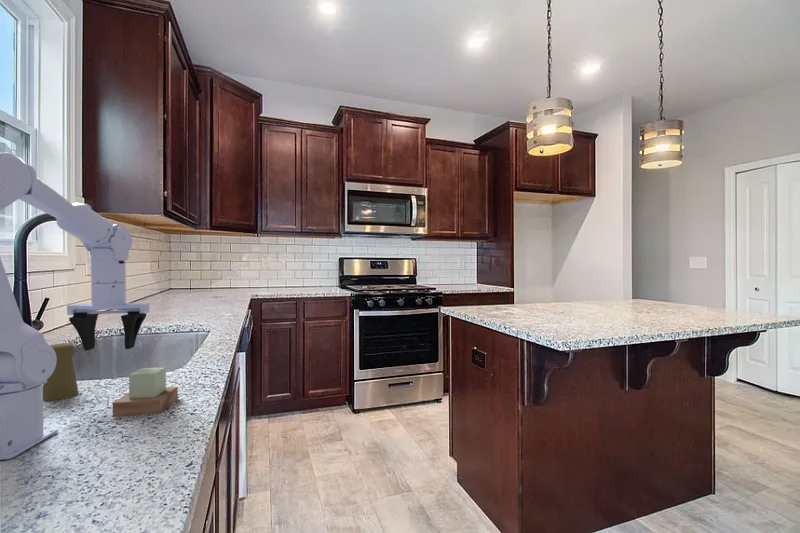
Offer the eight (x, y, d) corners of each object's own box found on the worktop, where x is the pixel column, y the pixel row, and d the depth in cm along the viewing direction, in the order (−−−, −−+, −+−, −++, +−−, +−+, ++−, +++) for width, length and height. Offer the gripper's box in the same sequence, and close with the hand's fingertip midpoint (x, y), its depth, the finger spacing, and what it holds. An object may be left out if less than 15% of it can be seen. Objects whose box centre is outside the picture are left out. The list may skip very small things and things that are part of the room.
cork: (44, 402, 79) (44, 348, 79) (37, 396, 83) (36, 344, 83) (82, 394, 84) (81, 343, 84) (74, 389, 88) (73, 340, 87)
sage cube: (154, 397, 74) (154, 373, 74) (129, 398, 74) (128, 374, 74) (165, 389, 79) (165, 367, 79) (141, 390, 78) (141, 368, 78)
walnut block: (159, 416, 73) (159, 400, 73) (112, 419, 72) (112, 402, 72) (177, 401, 81) (177, 386, 81) (135, 403, 80) (135, 388, 80)
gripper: (156, 281, 86) (156, 343, 86) (83, 282, 84) (84, 345, 84) (139, 283, 79) (140, 350, 79) (59, 284, 77) (60, 353, 77)
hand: (109, 348), depth 81 cm, fingers open, 7 cm apart
